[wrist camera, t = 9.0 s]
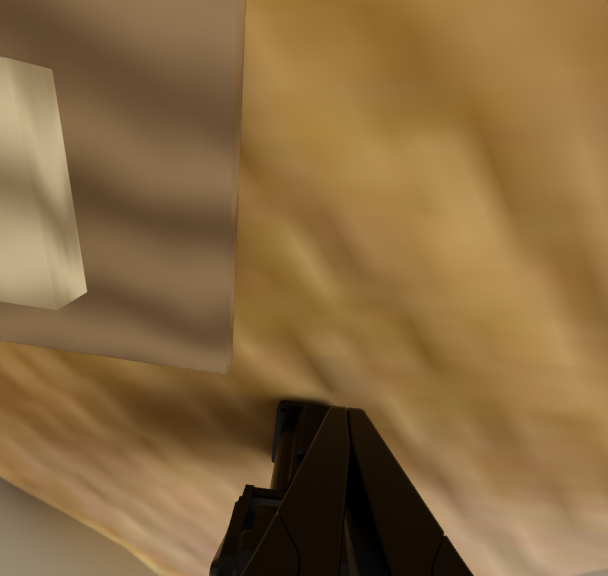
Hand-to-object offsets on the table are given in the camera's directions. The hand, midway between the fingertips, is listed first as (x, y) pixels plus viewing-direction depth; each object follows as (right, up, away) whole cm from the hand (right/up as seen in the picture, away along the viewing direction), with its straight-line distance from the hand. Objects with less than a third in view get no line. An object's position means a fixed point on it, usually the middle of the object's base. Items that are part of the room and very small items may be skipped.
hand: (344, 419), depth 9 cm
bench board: (-16, +10, +11) cm, 22 cm away
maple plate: (-18, +9, +10) cm, 23 cm away
